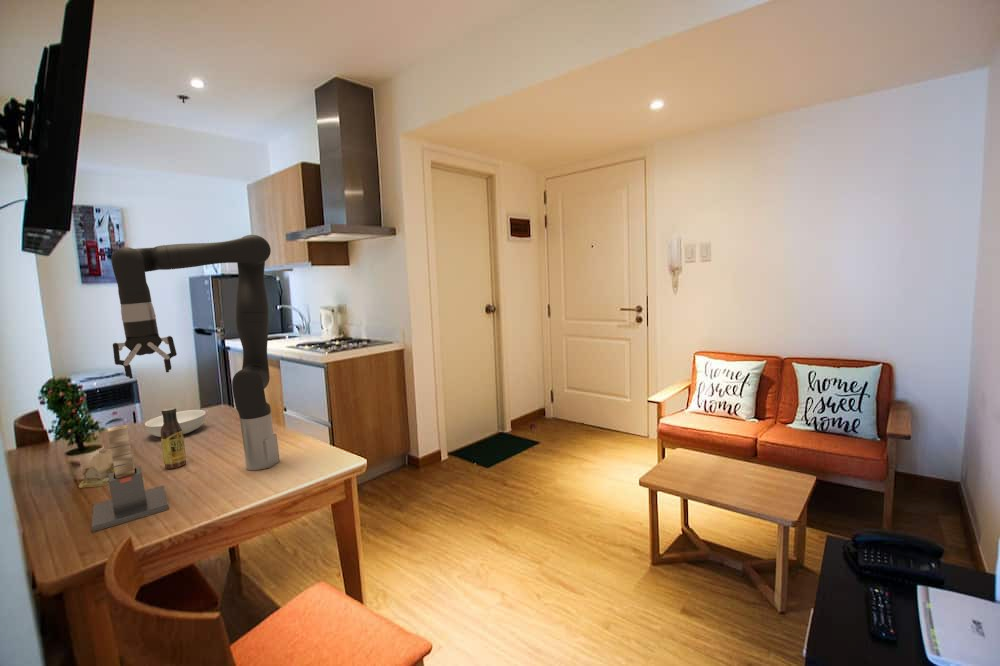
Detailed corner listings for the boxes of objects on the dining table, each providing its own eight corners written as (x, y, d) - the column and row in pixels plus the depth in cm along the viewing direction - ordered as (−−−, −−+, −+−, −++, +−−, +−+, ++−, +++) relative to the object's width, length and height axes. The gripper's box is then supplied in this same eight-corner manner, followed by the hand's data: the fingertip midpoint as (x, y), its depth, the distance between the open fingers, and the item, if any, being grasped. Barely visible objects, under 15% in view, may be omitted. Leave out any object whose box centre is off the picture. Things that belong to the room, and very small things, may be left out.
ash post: (136, 478, 132) (126, 424, 130) (136, 483, 129) (127, 427, 127) (117, 483, 130) (107, 428, 127) (117, 488, 126) (107, 431, 124)
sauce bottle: (175, 470, 156) (166, 412, 153) (160, 469, 157) (150, 412, 155) (192, 462, 163) (183, 406, 160) (177, 461, 164) (168, 406, 161)
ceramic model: (102, 489, 145) (96, 458, 144) (70, 488, 147) (65, 457, 145) (142, 469, 159) (137, 441, 158) (113, 469, 160) (108, 441, 159)
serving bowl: (166, 427, 205) (163, 412, 204) (217, 423, 207) (214, 407, 206) (135, 444, 184) (132, 427, 183) (191, 439, 186) (189, 423, 185)
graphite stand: (164, 490, 141) (158, 456, 140) (168, 509, 129) (163, 473, 128) (94, 509, 131) (88, 473, 130) (92, 532, 119) (85, 493, 118)
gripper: (168, 315, 141) (177, 368, 143) (106, 322, 132) (117, 378, 134) (171, 316, 135) (180, 371, 137) (106, 323, 126) (118, 382, 128)
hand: (149, 375), depth 136 cm, fingers open, 8 cm apart
